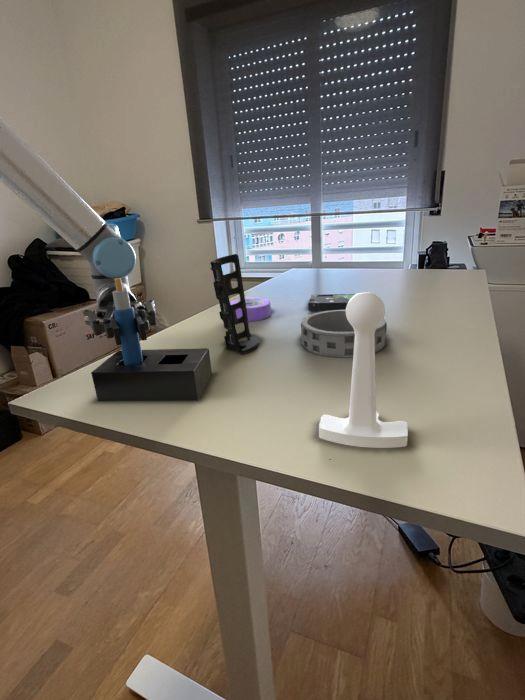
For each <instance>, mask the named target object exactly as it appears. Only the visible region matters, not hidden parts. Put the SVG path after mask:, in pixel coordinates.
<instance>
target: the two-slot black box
mask: <svg viewBox="0 0 525 700" xmlns="http://www.w3.org/2000/svg"><path fill="white" fill-rule="evenodd" d="M141 351H142V356H143V362H142V363H141V364H140V365H124V360H123V355H122V350H121V349H120V350H117V351H116V352H115V353H113V354H112V355H111V356H110V357H108V358H107V359H106V360H104V361H103V362H102V363H101V364H100V365H98V366H97V367H96V368H95V369H94V370H92V371H91V373H90V374H91V378H92V382H93V387H94V391H95V395H96V399H97V402H194V401H195V402H198V401H199V400H200V397H201V396H202V394H203V392H204V391H205V389H206V387H207V385H208V383H209V381H210V379H211V378H212V376H213V374H212V365H211V364H212V363H211V356H210V348H209V347H204V348H203V347H202V348H163V349H161V348H160V349H141Z"/></svg>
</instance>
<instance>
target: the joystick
mask: <svg viewBox="0 0 525 700" xmlns="http://www.w3.org/2000/svg"><path fill="white" fill-rule="evenodd" d="M355 294H356V295H354V296H353V297H352V298H351V299H350V300H349V302H348V304H347V306H346V317H347V320H348V321H349V323H350V324H351V325H352V327H353V329H354V332H355V340H354V354H353V357H352V367H351V369H352V371H351V381H350V383H351V384H350V394H349V396H350V397H349V412H348V416H347V417H344V418H343V417H337V416H334V415H330V414H323V415H321V418H320V420H319V424H318V437H319V439H321V440H324V441H328V442H332V443H336V444H341V445H347V446H352V447H361V448H372V449H373V448H375V449H393V448H404V447H407V446H408V437H409V433H408V432H409V431H408V423H407V422H406V421H404V420H393V421H382V420H380V414H379V412H378V411H377V387H376V352H375V342H374V333H375V330H376V328H377V326H378V325H379V324H380V323H381V322H382V320H383V318H384V319H385V314H386V307H385V304H384V302H383V300H382V299H381V297H380V296H378V295H377V294H376V293H373V292H369V291H363V292H359V293H355Z"/></svg>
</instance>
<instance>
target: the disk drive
mask: <svg viewBox="0 0 525 700" xmlns="http://www.w3.org/2000/svg"><path fill="white" fill-rule="evenodd" d="M356 294H357V293H348V294H347V293H337V294H335V293H333V294H311V295H310V298H309V301H308V303H307V308H308V309H307V310H308V312H323V311H330V310H346V306H347V304H348V302H349V300H350V299H351V298H352V297H353V296H354V295H356Z"/></svg>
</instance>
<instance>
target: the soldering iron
mask: <svg viewBox="0 0 525 700" xmlns="http://www.w3.org/2000/svg"><path fill="white" fill-rule="evenodd" d="M114 280H115V285H116V290H115V291H113V292H112V293H113V298H114V303H115V308H116V309H114V310H113V311H114V316H115V320H116V323H117V325H118V328H119V333H120V338H121V343H122V345H120V350H122V355H123V360H124V365H140V364H141V363H142V362H143V356H142V351H141V350H142V346H141V340H140V335H139V333H138V330H137V325H136V319H135V313H134V308H133V307H131V306H130V300H129V295H128V290H126V289H123V287H122V282H121V278H116V279H114Z"/></svg>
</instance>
